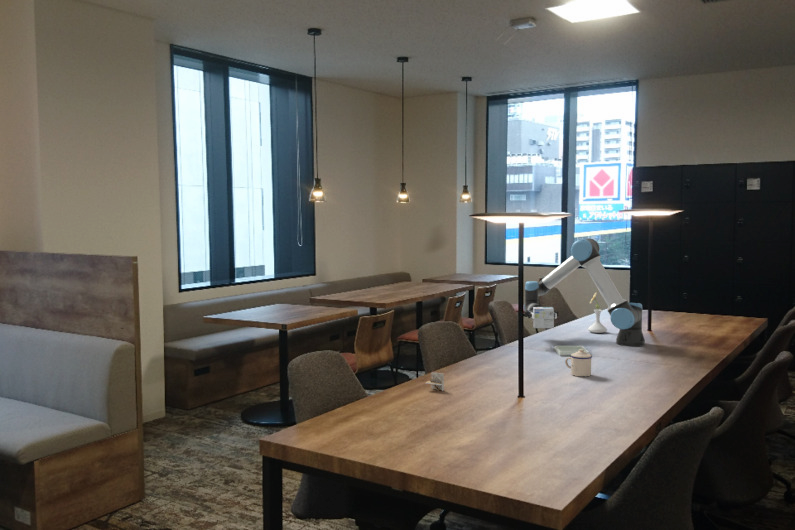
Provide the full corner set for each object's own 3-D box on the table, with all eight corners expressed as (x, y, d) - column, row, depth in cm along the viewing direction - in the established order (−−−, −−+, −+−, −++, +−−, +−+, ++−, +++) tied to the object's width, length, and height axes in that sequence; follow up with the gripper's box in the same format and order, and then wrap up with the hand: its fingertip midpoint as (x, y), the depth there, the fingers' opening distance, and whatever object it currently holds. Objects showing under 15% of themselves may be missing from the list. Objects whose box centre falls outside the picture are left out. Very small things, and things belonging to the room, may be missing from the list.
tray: (582, 349, 363) (582, 345, 362) (588, 356, 346) (589, 352, 346) (554, 349, 363) (554, 345, 363) (559, 355, 347) (559, 351, 347)
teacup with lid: (594, 374, 306) (595, 348, 306) (587, 378, 299) (587, 352, 298) (569, 370, 314) (569, 345, 313) (561, 374, 306) (561, 349, 305)
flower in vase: (591, 330, 424) (592, 290, 422) (609, 332, 417) (610, 291, 415) (584, 333, 413) (584, 292, 411) (602, 335, 406) (603, 293, 404)
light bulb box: (552, 326, 370) (552, 306, 370) (554, 328, 364) (554, 308, 363) (532, 326, 371) (532, 306, 371) (533, 328, 365) (533, 308, 364)
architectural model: (440, 393, 277) (440, 375, 277) (425, 391, 280) (425, 373, 280) (444, 391, 280) (444, 373, 280) (428, 389, 283) (428, 371, 283)
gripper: (556, 317, 386) (566, 323, 364) (514, 317, 385) (523, 323, 363) (556, 303, 385) (567, 309, 363) (514, 304, 384) (523, 309, 363)
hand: (545, 316), depth 363 cm, fingers closed on light bulb box, 11 cm apart
